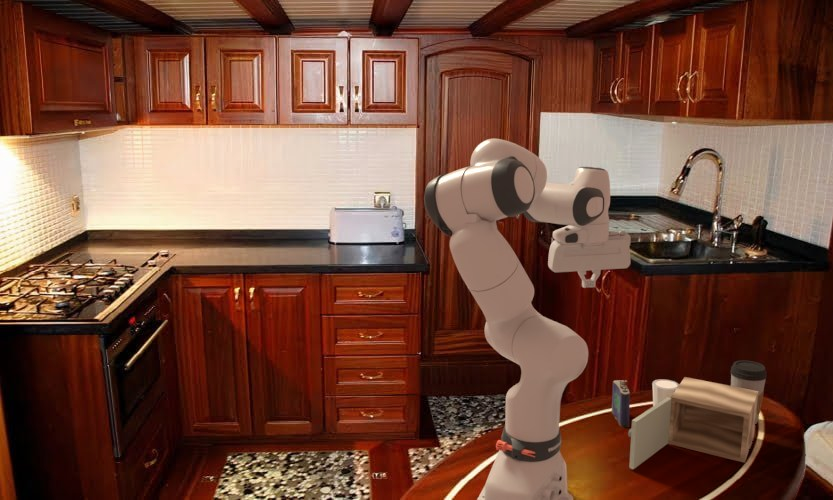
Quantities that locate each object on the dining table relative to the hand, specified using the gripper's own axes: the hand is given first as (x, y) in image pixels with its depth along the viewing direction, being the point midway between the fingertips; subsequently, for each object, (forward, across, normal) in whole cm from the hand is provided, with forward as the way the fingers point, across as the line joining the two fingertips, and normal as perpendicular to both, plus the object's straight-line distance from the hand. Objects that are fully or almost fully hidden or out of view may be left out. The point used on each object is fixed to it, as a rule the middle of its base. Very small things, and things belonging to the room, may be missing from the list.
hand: (588, 286), depth 176 cm
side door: (+34, -7, +22) cm, 41 cm away
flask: (+35, -9, +3) cm, 37 cm away
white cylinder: (+36, -22, -1) cm, 42 cm away
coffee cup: (+36, -39, +9) cm, 53 cm away
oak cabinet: (+35, -25, +17) cm, 47 cm away
